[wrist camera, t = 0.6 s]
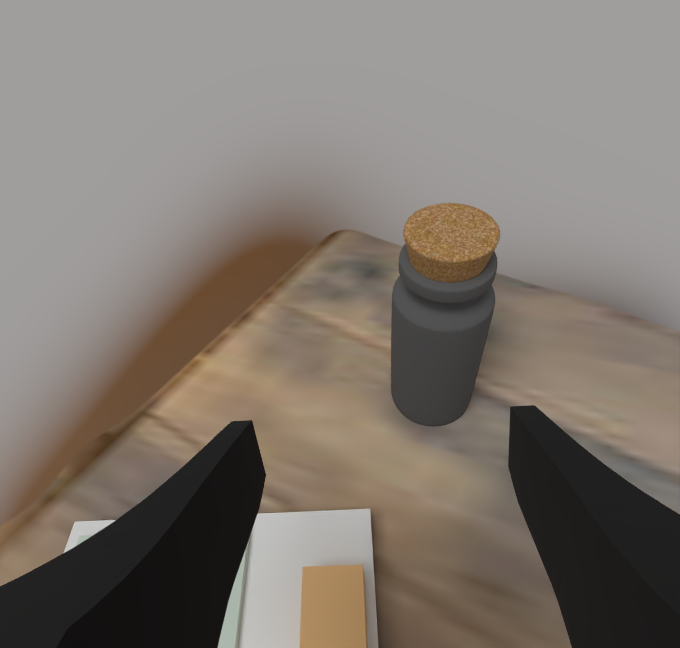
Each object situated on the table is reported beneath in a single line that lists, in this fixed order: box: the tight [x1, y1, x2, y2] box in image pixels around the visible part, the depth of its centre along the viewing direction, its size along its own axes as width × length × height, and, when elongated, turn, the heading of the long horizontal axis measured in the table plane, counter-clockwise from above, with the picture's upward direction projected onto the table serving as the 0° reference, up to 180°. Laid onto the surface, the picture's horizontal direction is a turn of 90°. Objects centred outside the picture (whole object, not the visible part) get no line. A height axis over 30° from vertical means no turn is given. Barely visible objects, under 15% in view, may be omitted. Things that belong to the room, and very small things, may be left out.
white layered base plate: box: [64, 509, 379, 648], centre depth 23 cm, size 18×12×2 cm, turn 91°
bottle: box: [391, 203, 500, 426], centre depth 28 cm, size 6×6×15 cm
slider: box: [300, 564, 368, 648], centre depth 21 cm, size 3×5×2 cm, turn 1°
